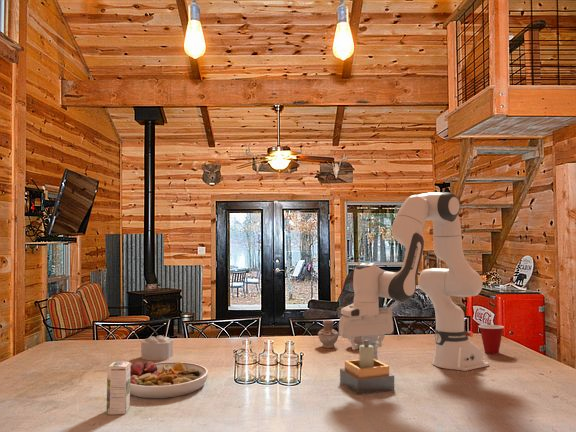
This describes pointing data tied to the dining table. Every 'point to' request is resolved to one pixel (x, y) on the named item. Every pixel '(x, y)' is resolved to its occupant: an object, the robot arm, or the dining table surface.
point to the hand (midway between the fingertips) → (366, 348)
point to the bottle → (371, 343)
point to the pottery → (332, 335)
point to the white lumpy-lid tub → (157, 348)
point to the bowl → (165, 379)
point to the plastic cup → (491, 337)
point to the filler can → (366, 355)
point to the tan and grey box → (366, 377)
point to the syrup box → (118, 388)
